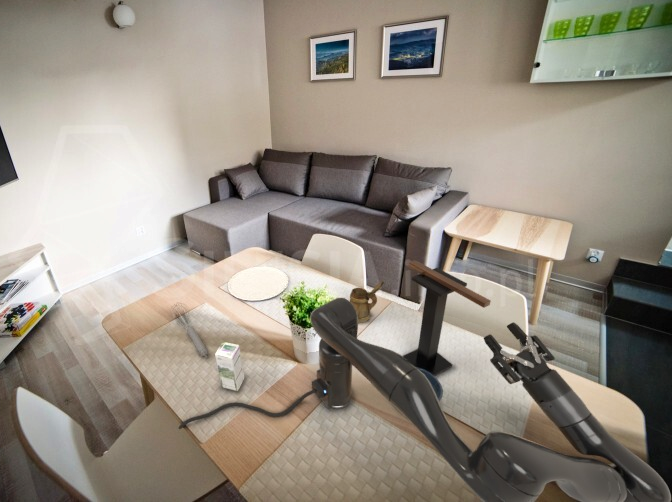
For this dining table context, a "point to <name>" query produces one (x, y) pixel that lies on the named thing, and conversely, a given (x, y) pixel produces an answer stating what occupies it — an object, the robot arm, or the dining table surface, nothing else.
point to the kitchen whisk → (193, 335)
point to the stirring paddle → (449, 283)
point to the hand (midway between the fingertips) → (498, 329)
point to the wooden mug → (364, 301)
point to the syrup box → (230, 366)
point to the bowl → (434, 384)
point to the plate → (258, 283)
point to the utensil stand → (432, 325)
